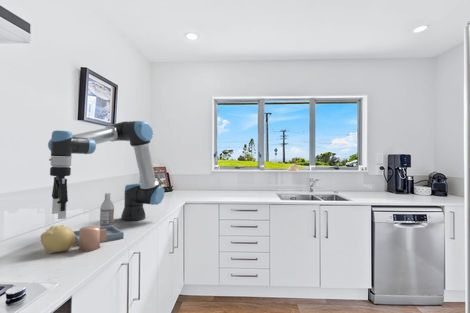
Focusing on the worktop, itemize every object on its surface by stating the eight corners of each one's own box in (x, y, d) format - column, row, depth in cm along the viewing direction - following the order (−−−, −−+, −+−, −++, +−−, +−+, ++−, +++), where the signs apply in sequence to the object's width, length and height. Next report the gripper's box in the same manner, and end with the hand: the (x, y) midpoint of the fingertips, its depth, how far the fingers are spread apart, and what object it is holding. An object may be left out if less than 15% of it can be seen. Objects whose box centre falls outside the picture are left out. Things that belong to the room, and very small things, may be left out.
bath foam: (113, 230, 152) (114, 194, 152) (99, 231, 149) (100, 194, 149) (113, 227, 158) (114, 192, 158) (99, 228, 155) (100, 192, 155)
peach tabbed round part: (77, 247, 122) (77, 227, 122) (103, 243, 129) (103, 224, 129) (81, 252, 116) (82, 231, 116) (108, 247, 123) (109, 227, 123)
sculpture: (51, 246, 123) (52, 222, 123) (79, 246, 124) (80, 222, 124) (34, 255, 112) (35, 228, 112) (65, 255, 112) (66, 229, 113)
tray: (112, 231, 149) (112, 225, 149) (123, 238, 137) (123, 232, 137) (70, 237, 136) (70, 231, 136) (78, 246, 124) (78, 239, 124)
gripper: (45, 165, 125) (43, 212, 124) (55, 167, 106) (53, 222, 106) (64, 165, 130) (62, 210, 129) (77, 167, 111) (75, 220, 111)
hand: (58, 216), depth 118 cm, fingers open, 13 cm apart
